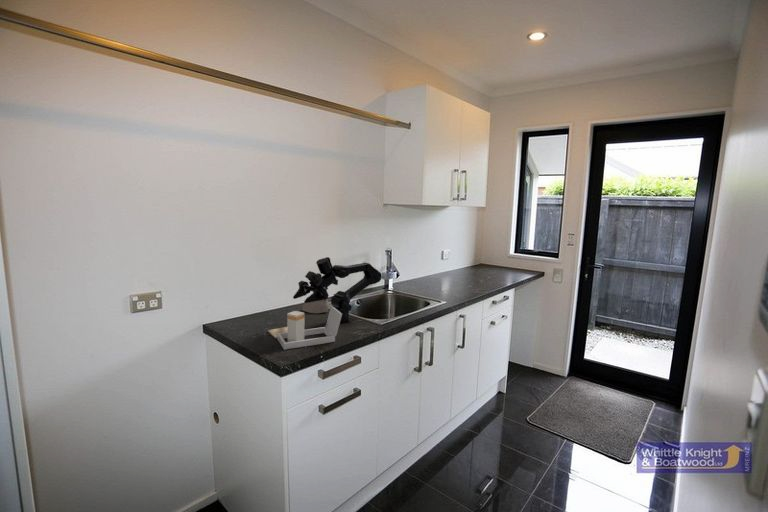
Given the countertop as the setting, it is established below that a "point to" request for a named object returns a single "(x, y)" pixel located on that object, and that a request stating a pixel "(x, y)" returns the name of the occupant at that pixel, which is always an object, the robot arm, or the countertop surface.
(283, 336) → the grey angled frame
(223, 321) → the countertop surface
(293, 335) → the module
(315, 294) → the robot arm
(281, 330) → the pad
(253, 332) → the countertop surface
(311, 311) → the pumice stone
